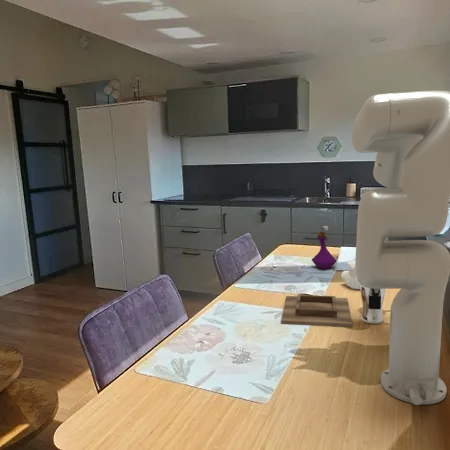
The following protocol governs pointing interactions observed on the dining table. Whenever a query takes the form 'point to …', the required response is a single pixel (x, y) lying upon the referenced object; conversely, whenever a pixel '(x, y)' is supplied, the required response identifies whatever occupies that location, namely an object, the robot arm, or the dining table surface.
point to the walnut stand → (316, 311)
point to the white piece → (370, 314)
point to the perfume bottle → (323, 253)
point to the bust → (351, 276)
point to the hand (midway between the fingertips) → (372, 302)
